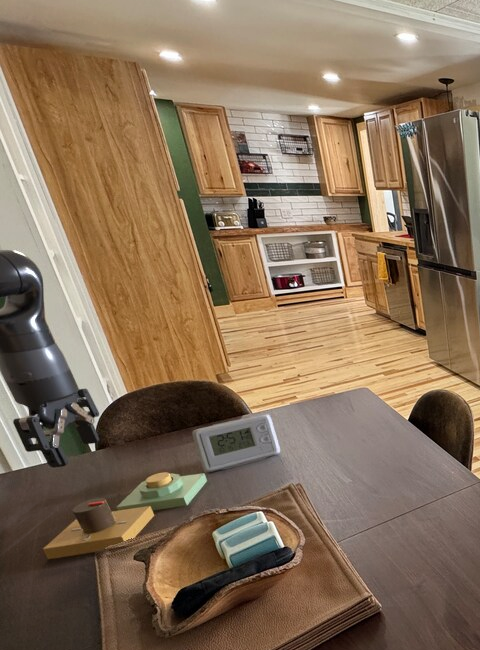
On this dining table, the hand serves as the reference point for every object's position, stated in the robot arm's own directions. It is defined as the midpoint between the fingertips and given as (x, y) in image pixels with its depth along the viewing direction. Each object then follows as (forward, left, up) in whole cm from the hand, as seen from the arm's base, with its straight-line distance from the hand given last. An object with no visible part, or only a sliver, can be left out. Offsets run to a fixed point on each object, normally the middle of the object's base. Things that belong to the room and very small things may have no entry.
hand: (76, 453), depth 87 cm
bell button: (+3, +13, -16) cm, 20 cm away
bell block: (+3, +13, -19) cm, 23 cm away
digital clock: (+14, +26, -19) cm, 35 cm away
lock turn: (-2, +1, -17) cm, 17 cm away
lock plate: (-2, +1, -19) cm, 19 cm away
